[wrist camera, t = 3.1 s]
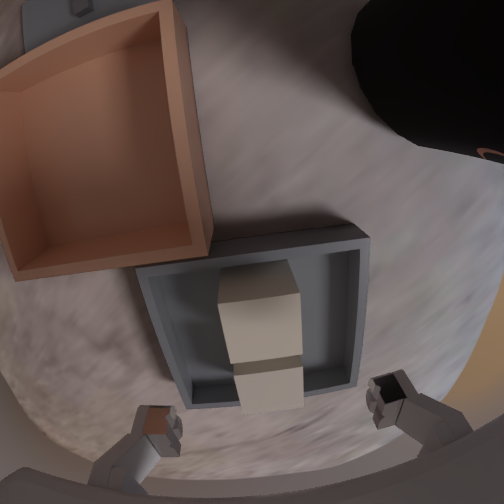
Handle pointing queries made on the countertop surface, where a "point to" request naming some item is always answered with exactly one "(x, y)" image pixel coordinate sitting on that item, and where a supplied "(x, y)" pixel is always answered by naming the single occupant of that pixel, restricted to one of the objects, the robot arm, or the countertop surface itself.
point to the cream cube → (260, 311)
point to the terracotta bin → (103, 149)
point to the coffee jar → (435, 71)
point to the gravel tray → (312, 309)
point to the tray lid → (65, 17)
